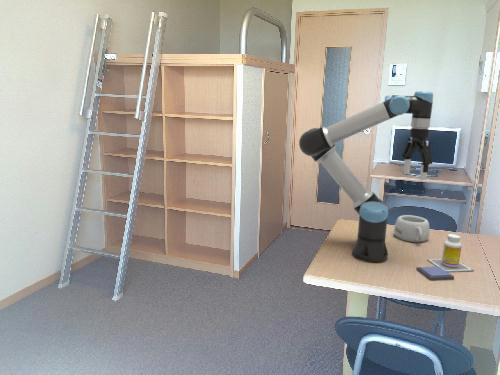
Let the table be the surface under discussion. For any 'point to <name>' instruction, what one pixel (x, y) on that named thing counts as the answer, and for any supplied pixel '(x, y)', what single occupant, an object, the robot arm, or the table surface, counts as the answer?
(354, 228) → the table surface
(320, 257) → the table surface
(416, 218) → the mug
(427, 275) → the ink pad
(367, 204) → the robot arm
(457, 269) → the board
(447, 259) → the supplement bottle
